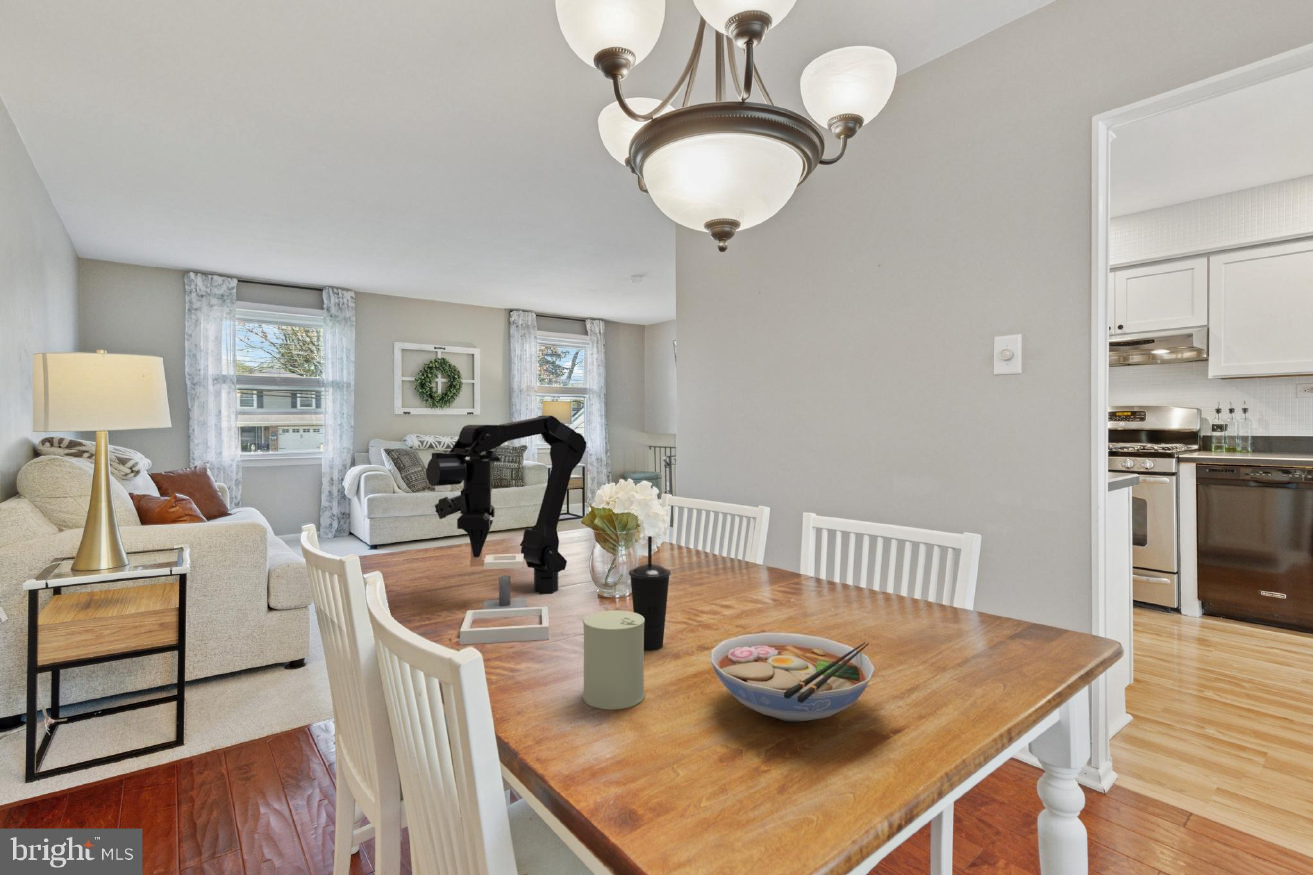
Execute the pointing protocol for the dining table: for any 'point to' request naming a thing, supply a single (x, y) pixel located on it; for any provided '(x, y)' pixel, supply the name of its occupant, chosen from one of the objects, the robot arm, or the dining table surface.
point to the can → (613, 659)
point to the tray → (504, 632)
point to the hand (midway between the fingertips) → (477, 555)
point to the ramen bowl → (792, 674)
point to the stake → (504, 597)
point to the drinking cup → (651, 599)
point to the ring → (497, 561)
